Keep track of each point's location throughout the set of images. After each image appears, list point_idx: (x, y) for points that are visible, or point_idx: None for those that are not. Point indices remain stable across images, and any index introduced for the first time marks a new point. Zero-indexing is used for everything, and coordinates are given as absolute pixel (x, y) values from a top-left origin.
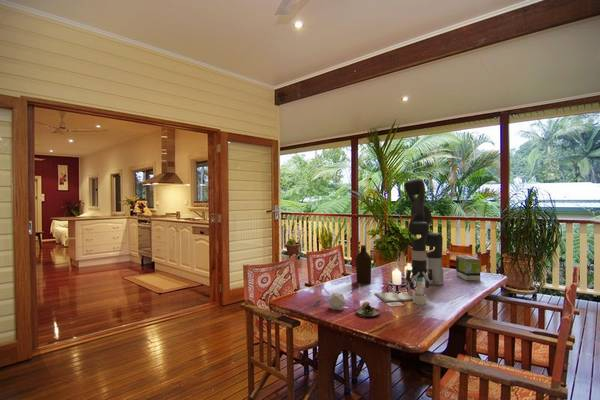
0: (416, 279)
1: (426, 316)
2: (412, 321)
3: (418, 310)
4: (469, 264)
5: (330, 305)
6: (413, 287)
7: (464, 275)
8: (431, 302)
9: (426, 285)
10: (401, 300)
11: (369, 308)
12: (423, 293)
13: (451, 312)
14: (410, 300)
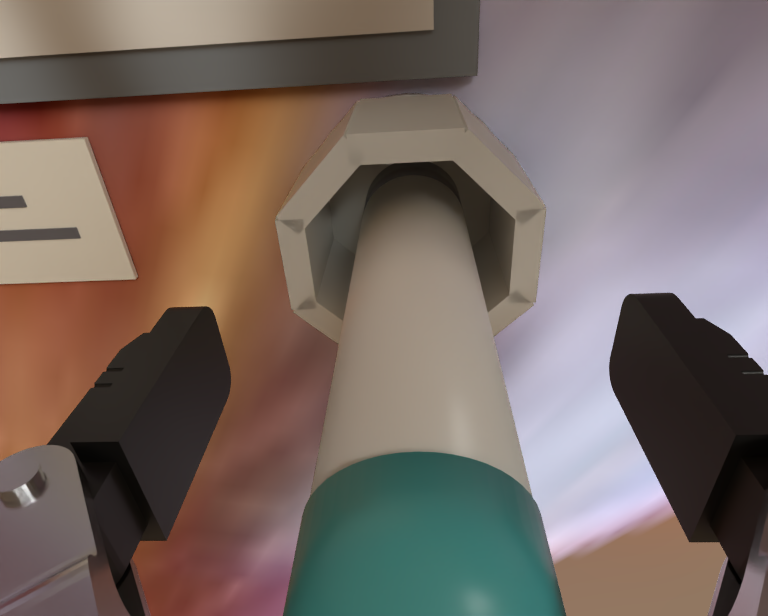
0: (295, 554)
1: (291, 545)
2: (145, 589)
3: (271, 435)
4: None
5: None
6: (214, 417)
7: None
8: (607, 214)
9: (640, 397)
10: (108, 96)
11: None
12: (533, 218)
13: (578, 514)
14: (290, 84)
